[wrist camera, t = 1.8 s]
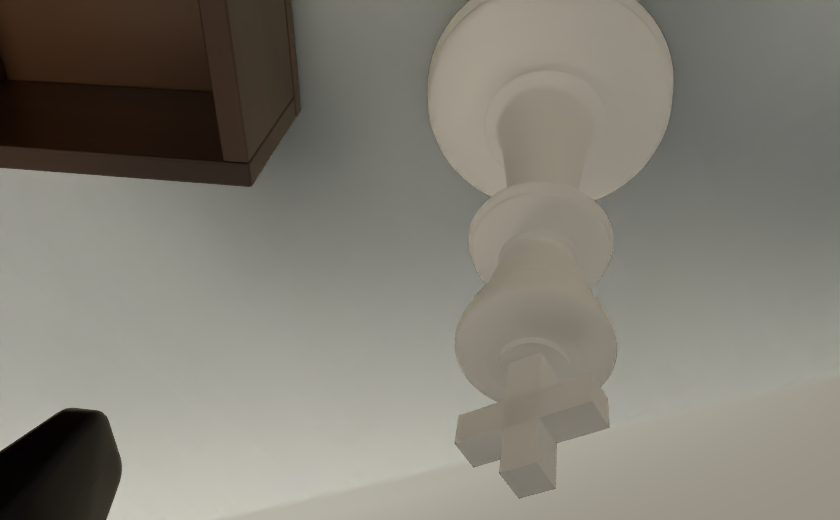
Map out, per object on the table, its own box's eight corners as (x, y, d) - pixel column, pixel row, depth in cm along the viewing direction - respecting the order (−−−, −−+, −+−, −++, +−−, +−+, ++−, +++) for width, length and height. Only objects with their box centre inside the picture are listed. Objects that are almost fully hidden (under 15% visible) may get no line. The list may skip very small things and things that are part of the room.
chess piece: (710, 139, 16) (846, 568, 8) (499, 228, 19) (446, 645, 10) (609, -82, 14) (660, 209, 6) (383, 46, 16) (204, 391, 8)
